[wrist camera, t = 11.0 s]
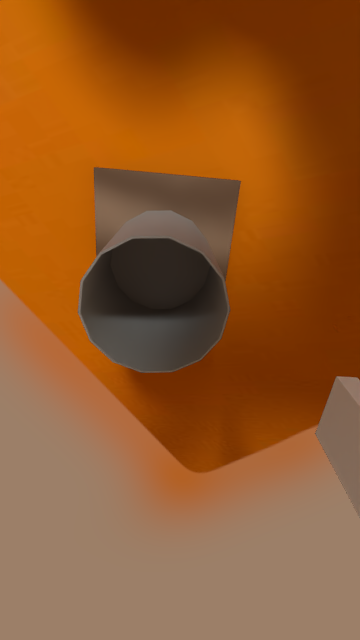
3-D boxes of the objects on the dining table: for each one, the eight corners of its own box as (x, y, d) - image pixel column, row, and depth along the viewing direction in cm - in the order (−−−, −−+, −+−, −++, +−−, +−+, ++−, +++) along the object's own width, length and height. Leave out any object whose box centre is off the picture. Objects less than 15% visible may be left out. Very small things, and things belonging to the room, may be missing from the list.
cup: (140, 321, 29) (126, 391, 20) (91, 240, 26) (46, 280, 17) (226, 282, 27) (251, 338, 18) (184, 190, 24) (191, 205, 15)
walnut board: (97, 167, 24) (93, 167, 23) (237, 180, 25) (240, 181, 24) (101, 328, 30) (98, 333, 29) (214, 335, 31) (215, 341, 30)
